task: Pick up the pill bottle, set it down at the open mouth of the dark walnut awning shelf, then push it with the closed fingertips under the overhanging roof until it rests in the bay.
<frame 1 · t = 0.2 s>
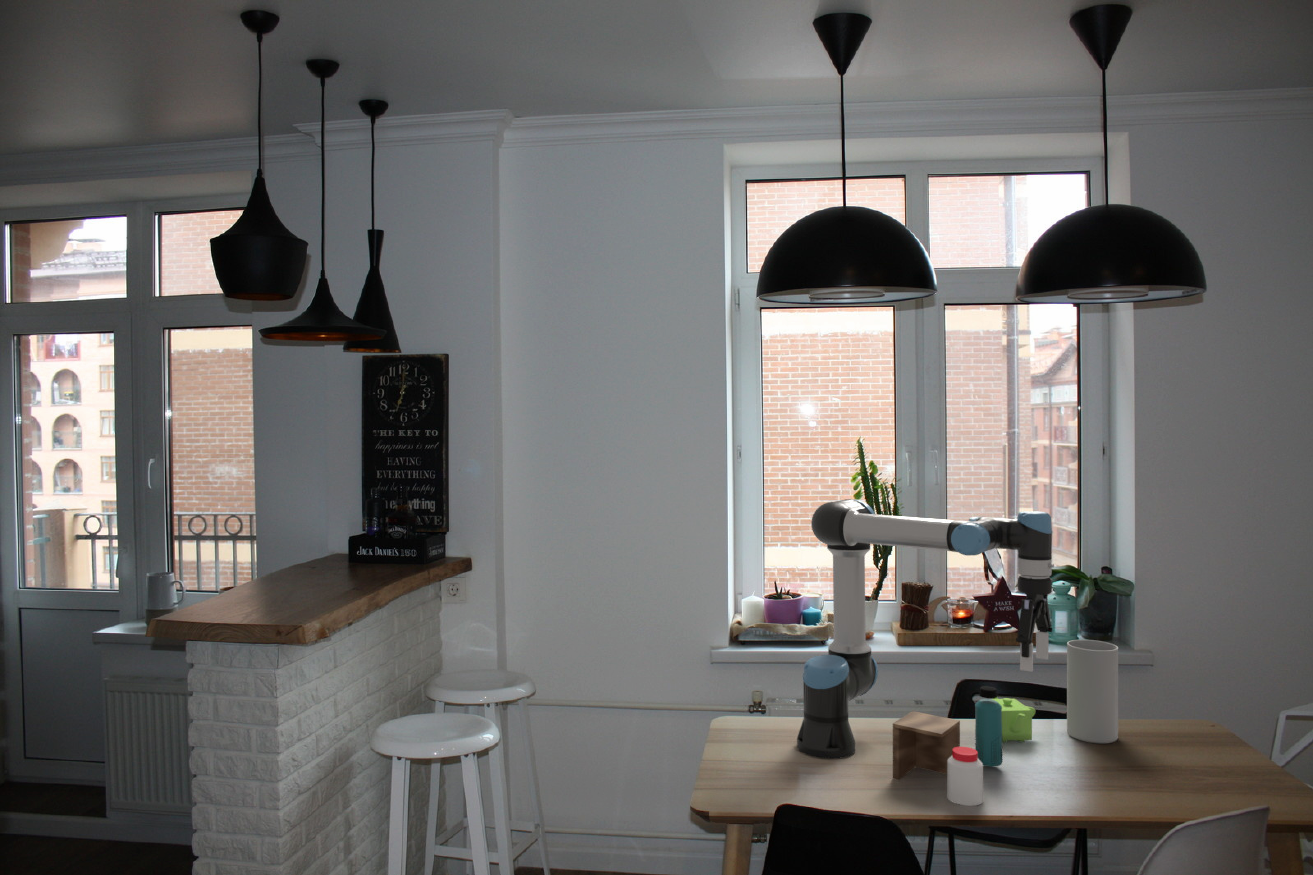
hand: (1034, 664, 213), 28 cm above the table, fingers open, 13 cm apart
awning shelf: (926, 776, 215), on the table
cylinder vase: (1092, 737, 243), on the table
teapot: (1007, 738, 242), on the table
beverage bottle: (988, 768, 221), on the table
pill bottle: (964, 799, 202), on the table
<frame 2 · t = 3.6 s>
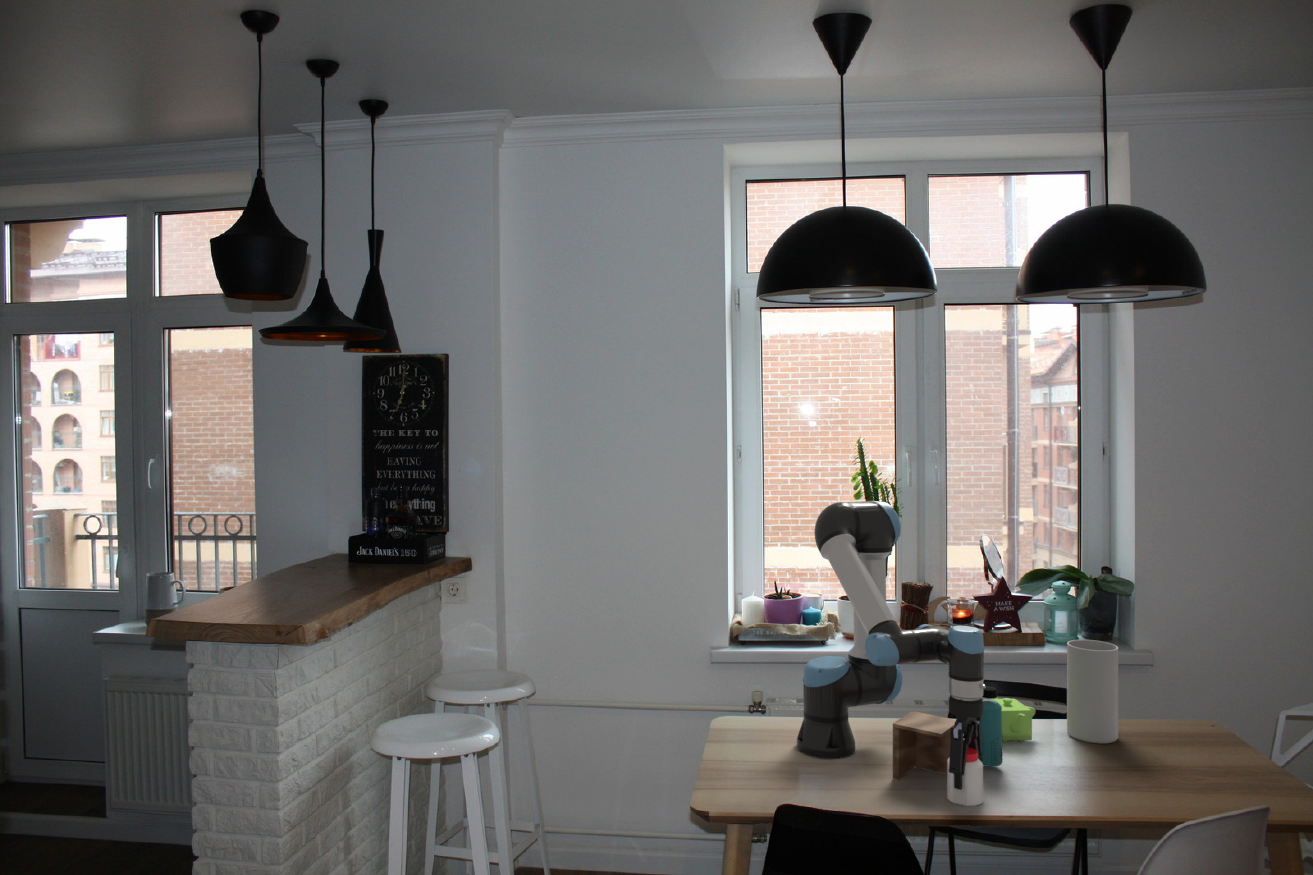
hand: (966, 795, 202), 1 cm above the table, fingers closed on pill bottle, 8 cm apart
pill bottle: (964, 799, 202), on the table, touching gripper
everything else where it was.
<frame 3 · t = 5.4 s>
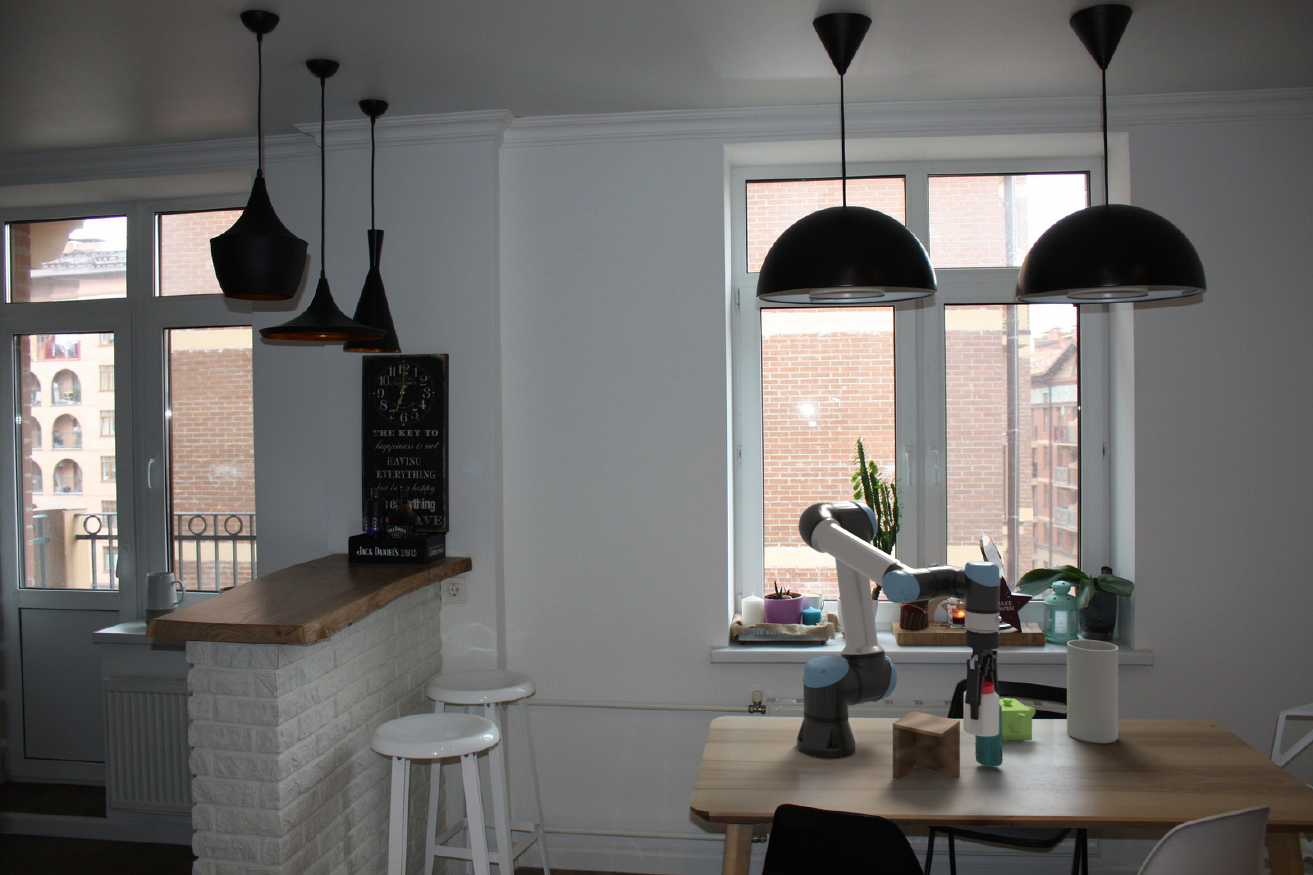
hand: (982, 727, 205), 15 cm above the table, fingers closed on pill bottle, 8 cm apart
pill bottle: (981, 731, 205), point 14 cm above the table, touching gripper
everything else where it was.
when the fingers open (2 cm above the table, at t = 7.3 s): pill bottle drops 1 cm, on the table.
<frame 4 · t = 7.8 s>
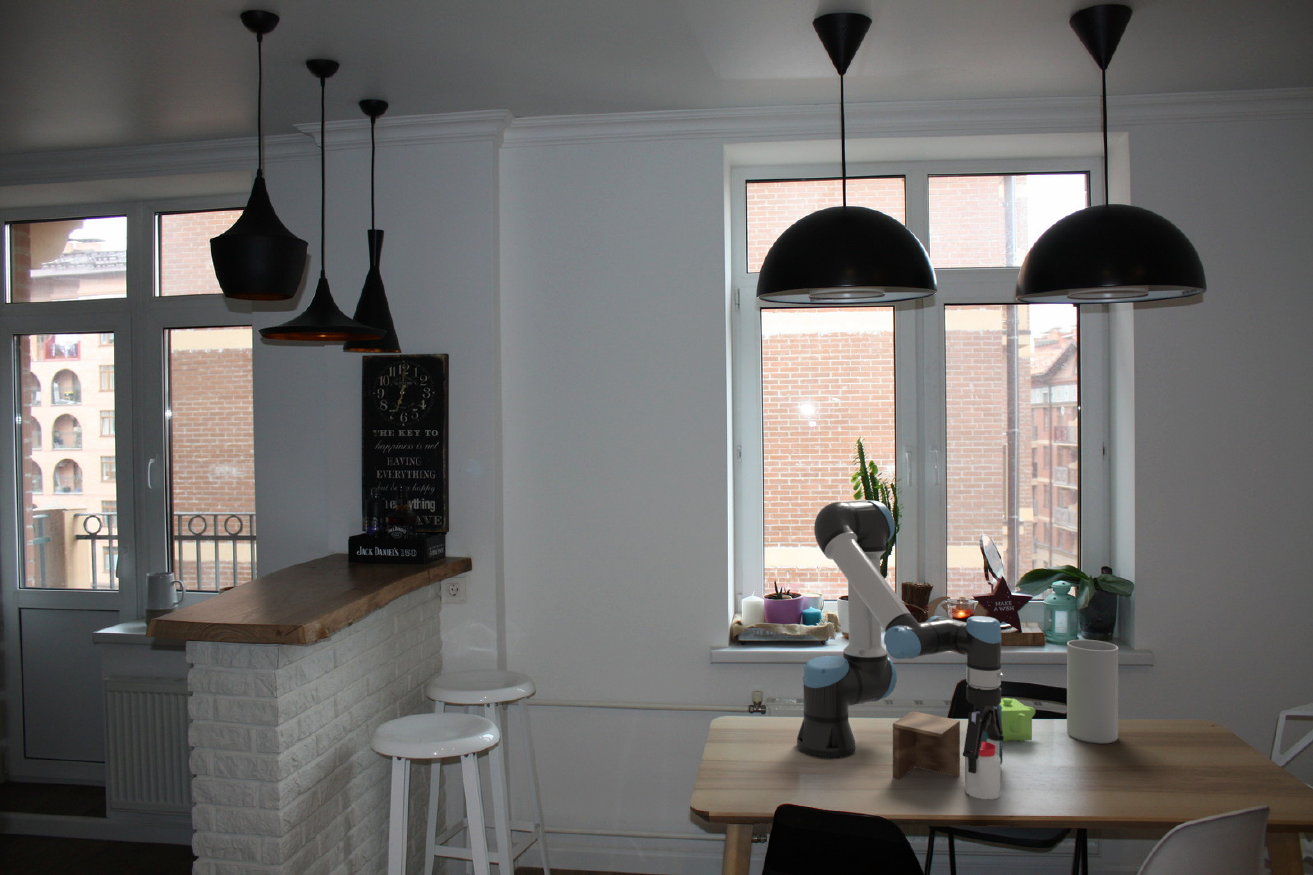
hand: (983, 776, 205), 4 cm above the table, fingers open, 13 cm apart
pill bottle: (982, 793, 206), on the table
everything else where it was.
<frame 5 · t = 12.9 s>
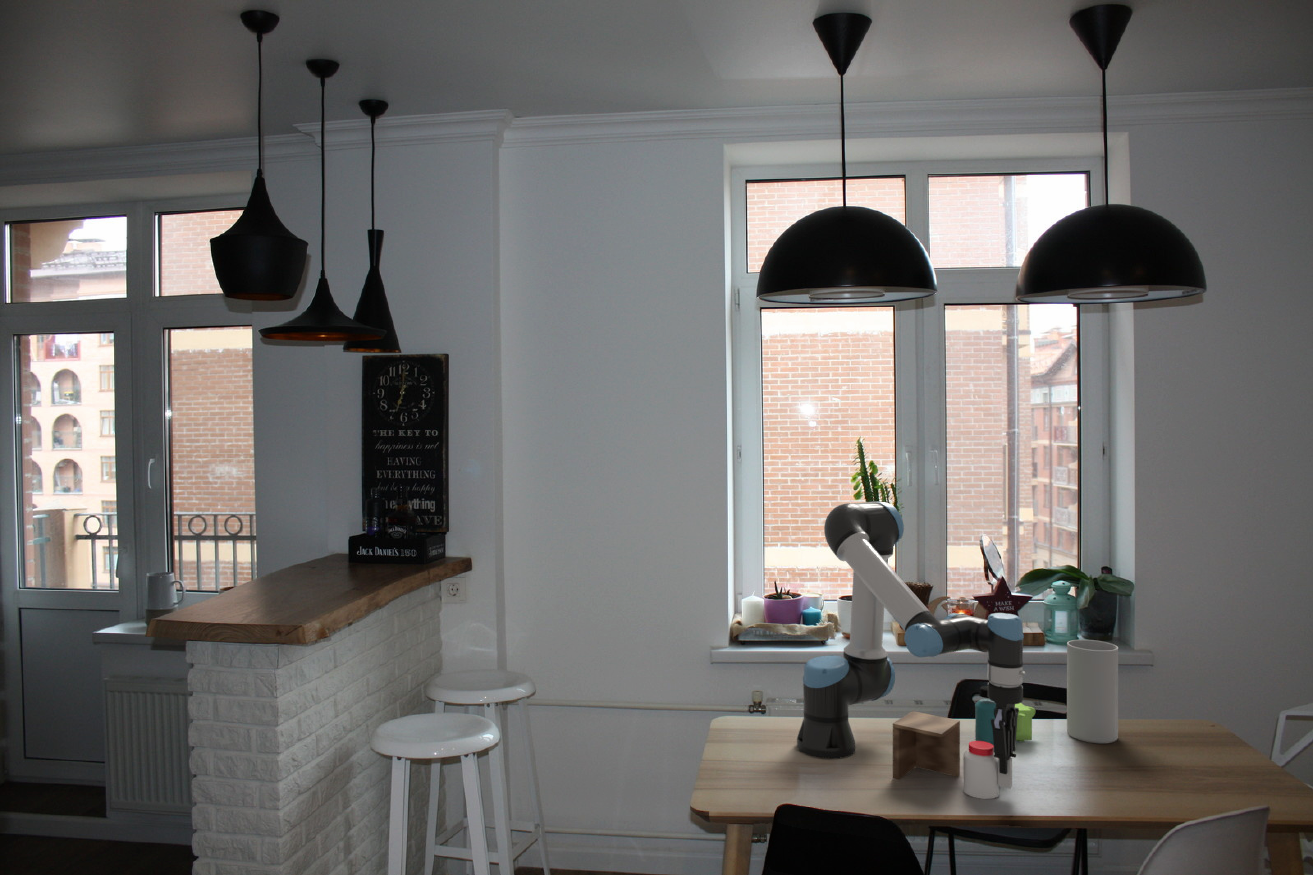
hand: (1005, 785, 203), 3 cm above the table, fingers closed
pill bottle: (981, 793, 206), on the table, touching gripper
everything else where it was.
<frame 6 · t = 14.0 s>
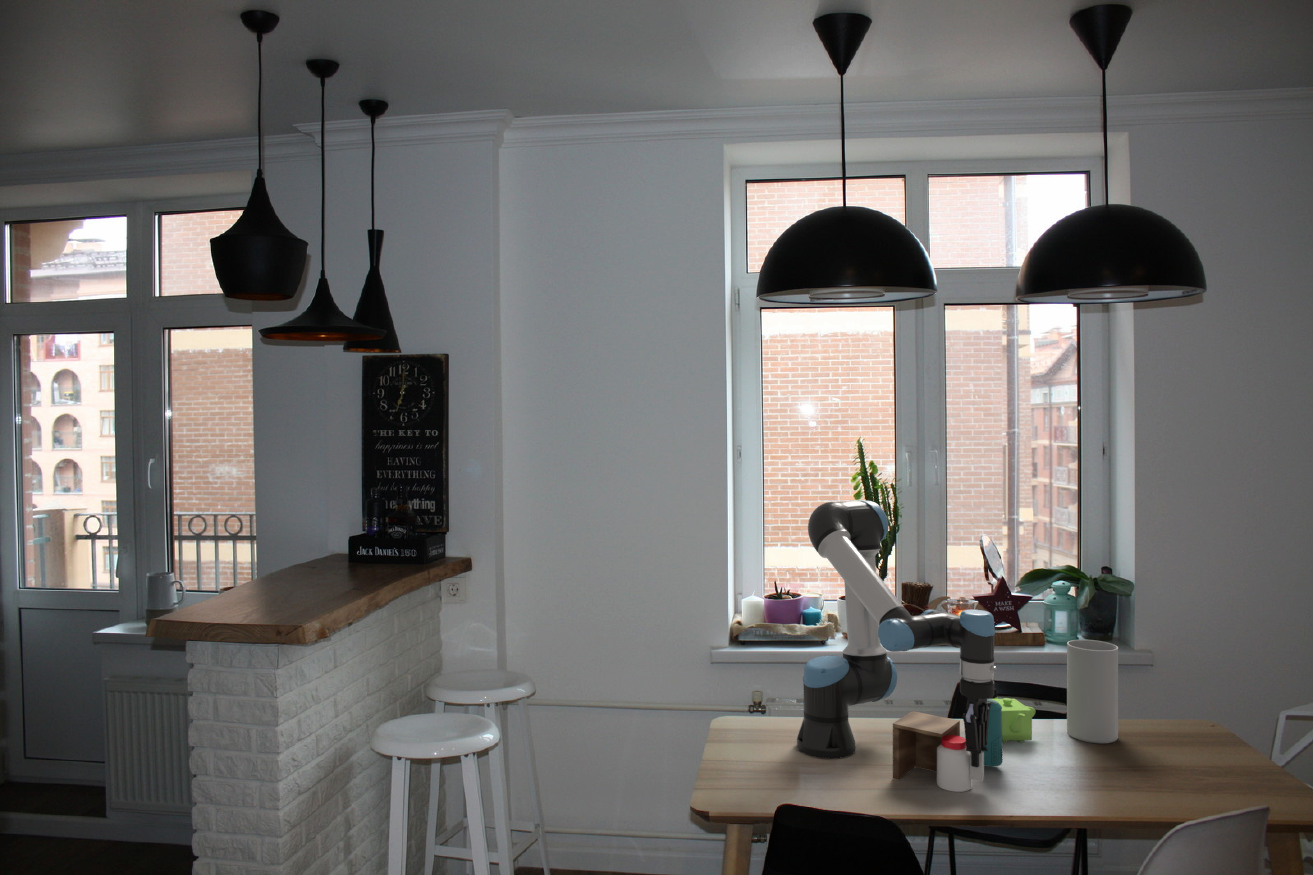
hand: (976, 779, 207), 3 cm above the table, fingers closed
pill bottle: (953, 786, 210), on the table, touching gripper
everything else where it was.
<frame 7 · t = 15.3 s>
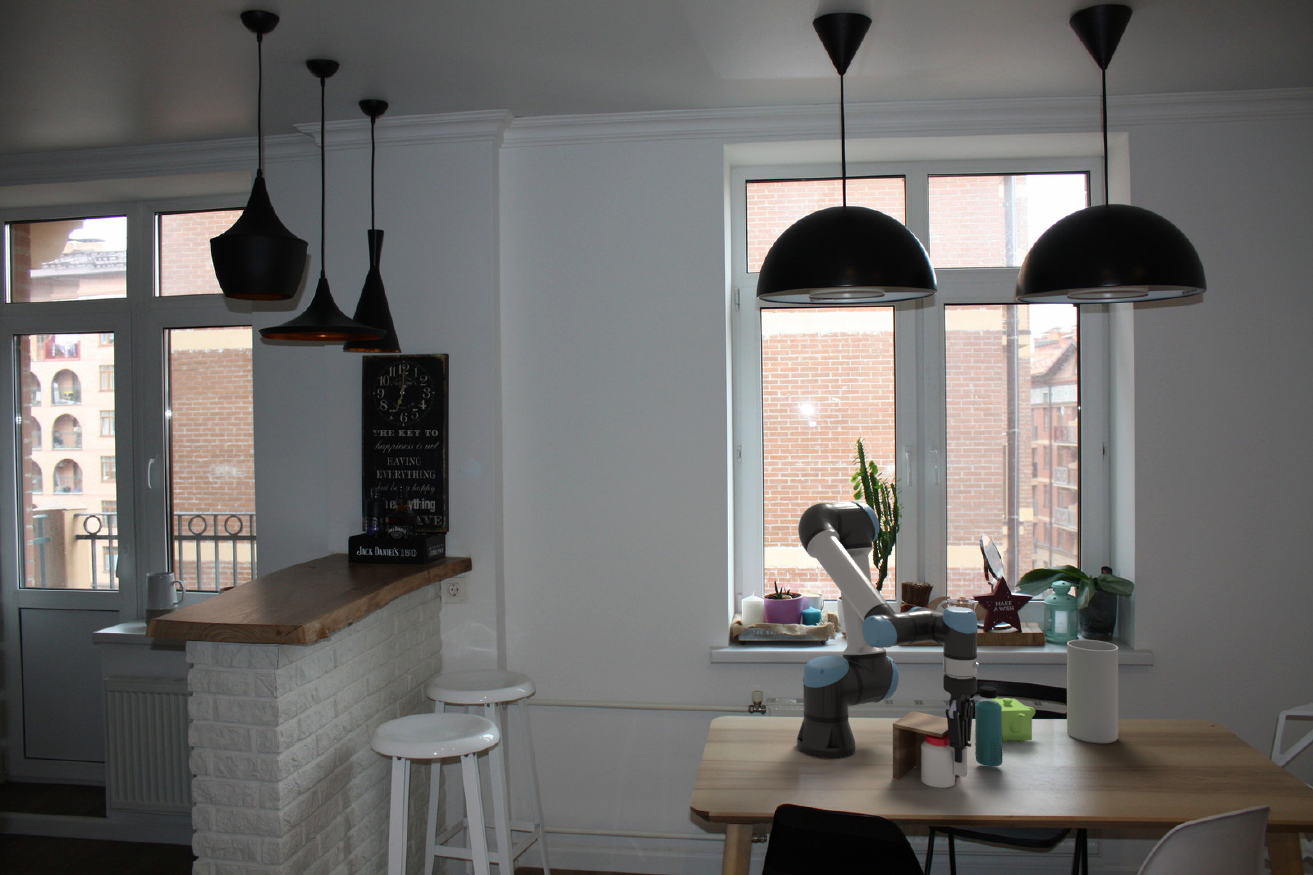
hand: (960, 774, 209), 3 cm above the table, fingers closed
pill bottle: (937, 782, 212), on the table, touching gripper
everything else where it was.
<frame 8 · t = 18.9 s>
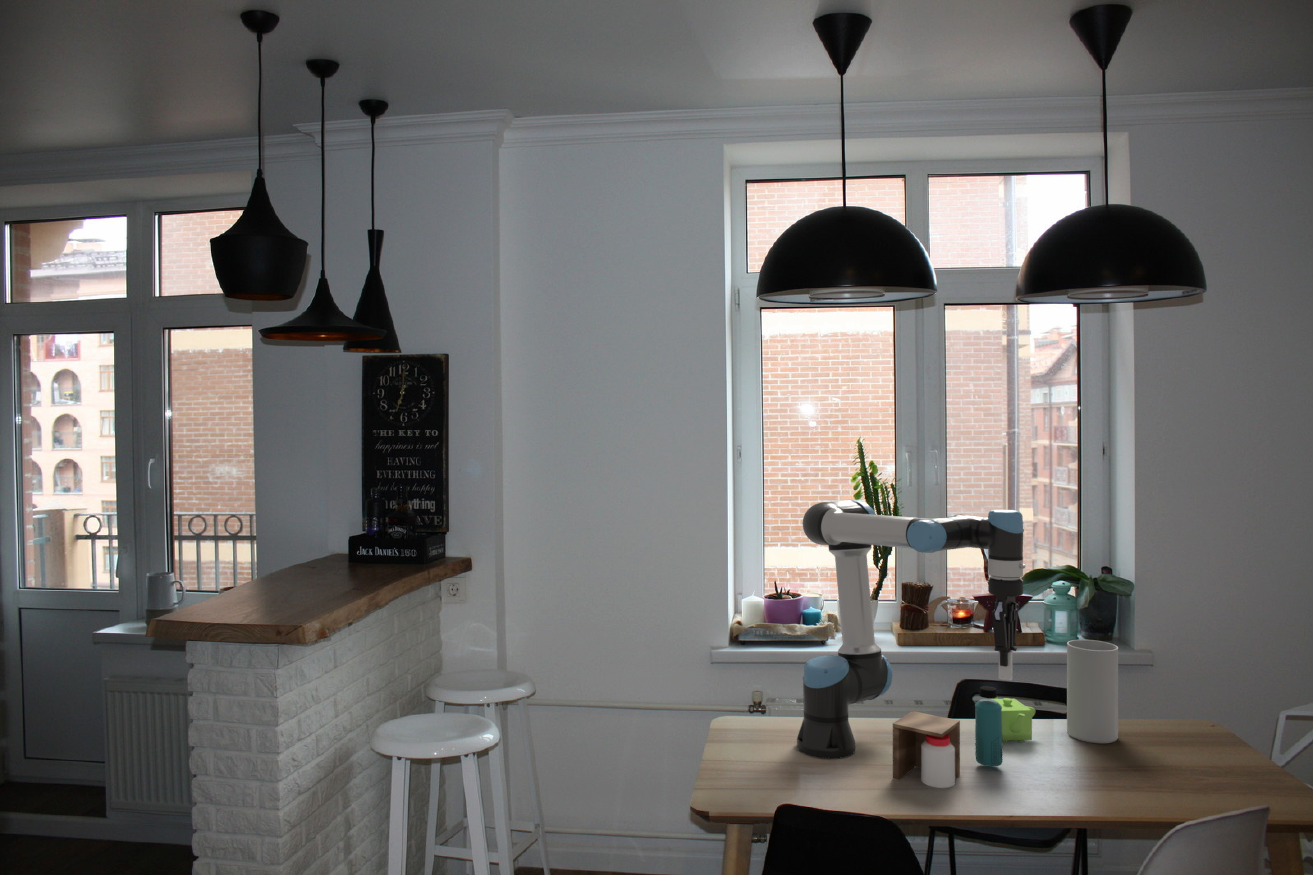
hand: (1005, 679, 205), 26 cm above the table, fingers closed
pill bottle: (937, 782, 212), on the table
everything else where it was.
at the end: pill bottle inside the target area (1.7 cm from its centre), on the table; pill bottle tilted 0° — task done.
